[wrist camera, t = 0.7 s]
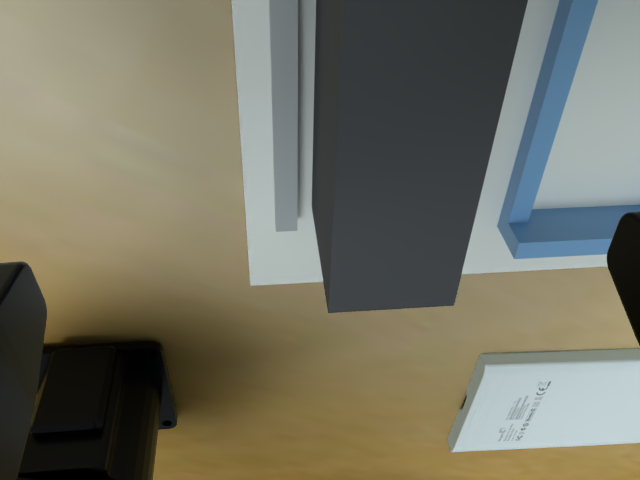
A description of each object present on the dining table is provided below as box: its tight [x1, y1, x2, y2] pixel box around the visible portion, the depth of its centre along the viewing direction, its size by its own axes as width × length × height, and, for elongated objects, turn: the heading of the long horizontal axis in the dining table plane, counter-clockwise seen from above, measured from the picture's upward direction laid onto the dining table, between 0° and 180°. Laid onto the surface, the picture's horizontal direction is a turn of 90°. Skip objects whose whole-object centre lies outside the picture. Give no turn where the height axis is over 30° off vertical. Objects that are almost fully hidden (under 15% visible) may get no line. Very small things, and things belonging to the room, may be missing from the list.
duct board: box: [231, 0, 640, 286], centre depth 20 cm, size 18×18×3 cm
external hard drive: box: [447, 348, 640, 452], centre depth 34 cm, size 2×8×12 cm
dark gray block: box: [312, 0, 528, 313], centre depth 18 cm, size 10×4×6 cm, turn 178°
